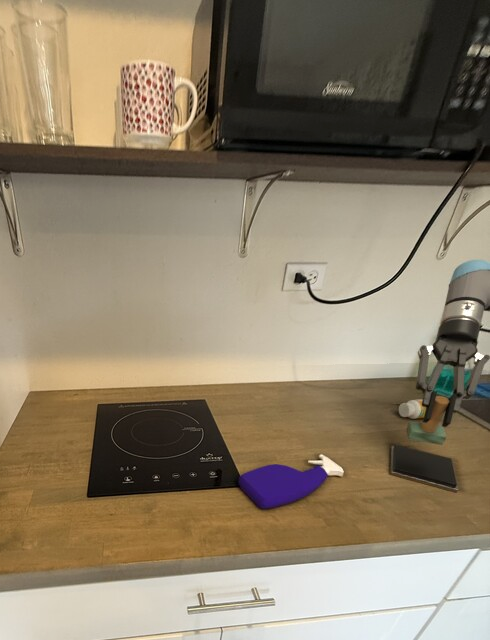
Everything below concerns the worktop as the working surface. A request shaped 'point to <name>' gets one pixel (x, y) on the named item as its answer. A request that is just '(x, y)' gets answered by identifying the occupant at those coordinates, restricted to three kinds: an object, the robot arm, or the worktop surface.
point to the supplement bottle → (412, 409)
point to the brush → (430, 425)
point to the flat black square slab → (423, 468)
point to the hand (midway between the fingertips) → (436, 422)
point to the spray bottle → (285, 482)
